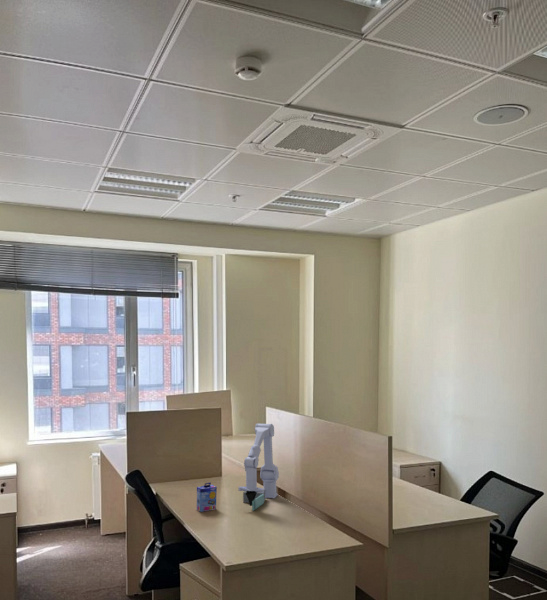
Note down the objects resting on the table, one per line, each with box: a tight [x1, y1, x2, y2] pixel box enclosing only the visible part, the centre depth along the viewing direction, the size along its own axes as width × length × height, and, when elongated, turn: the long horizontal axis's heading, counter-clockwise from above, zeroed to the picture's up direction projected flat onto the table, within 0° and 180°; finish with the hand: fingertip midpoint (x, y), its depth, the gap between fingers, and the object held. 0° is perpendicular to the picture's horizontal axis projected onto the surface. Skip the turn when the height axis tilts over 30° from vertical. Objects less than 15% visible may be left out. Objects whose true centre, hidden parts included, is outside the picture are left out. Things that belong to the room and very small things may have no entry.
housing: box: [242, 490, 266, 504], centre depth 333 cm, size 8×11×6 cm
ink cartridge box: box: [196, 482, 218, 513], centre depth 317 cm, size 10×6×14 cm, turn 122°
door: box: [251, 494, 265, 512], centre depth 320 cm, size 1×16×5 cm, turn 159°
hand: (251, 505), depth 316 cm, fingers closed
